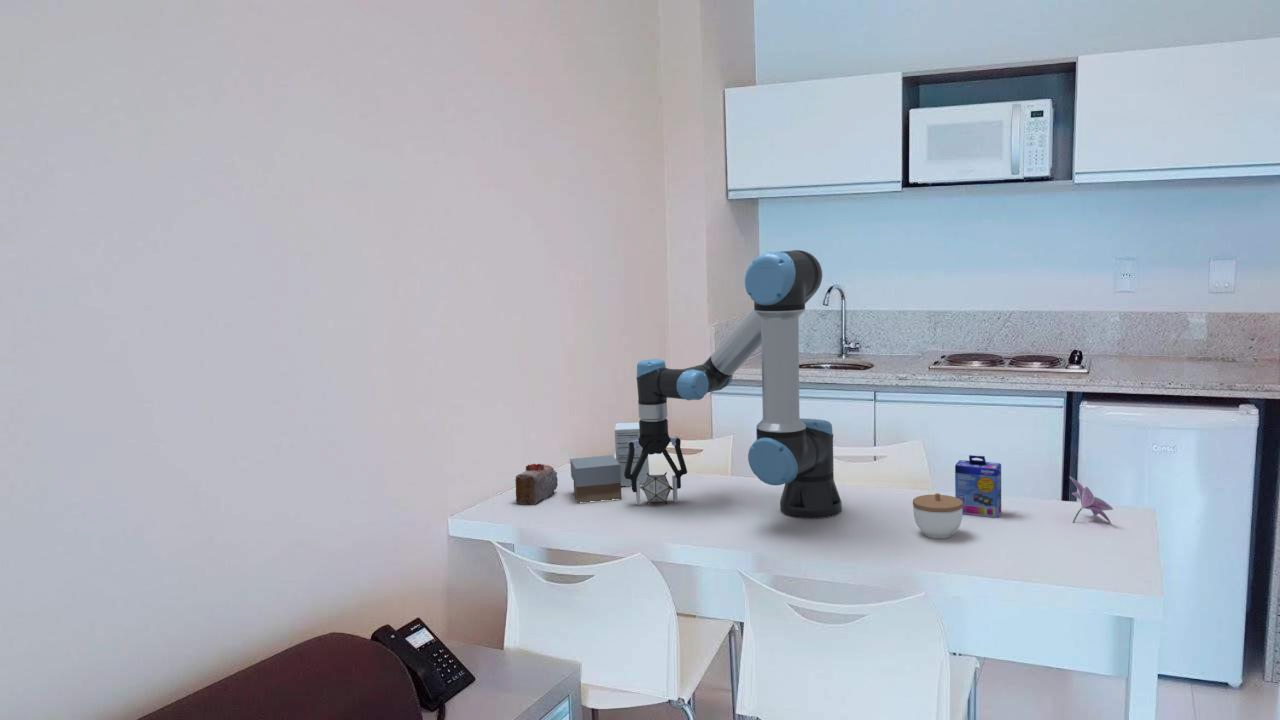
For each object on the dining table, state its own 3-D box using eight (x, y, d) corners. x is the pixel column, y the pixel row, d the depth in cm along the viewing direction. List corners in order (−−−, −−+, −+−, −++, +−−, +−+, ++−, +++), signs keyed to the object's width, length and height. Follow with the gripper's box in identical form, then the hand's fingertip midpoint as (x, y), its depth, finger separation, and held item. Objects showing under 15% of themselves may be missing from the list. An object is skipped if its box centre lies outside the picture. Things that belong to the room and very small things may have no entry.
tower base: (621, 501, 246) (620, 482, 245) (577, 504, 244) (576, 486, 243) (616, 489, 257) (615, 472, 257) (574, 493, 256) (573, 475, 255)
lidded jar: (909, 527, 211) (908, 487, 210) (957, 526, 209) (956, 486, 208) (918, 542, 200) (917, 500, 199) (968, 541, 199) (968, 500, 198)
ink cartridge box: (954, 514, 219) (953, 455, 217) (959, 507, 224) (958, 450, 222) (997, 518, 214) (997, 458, 212) (1001, 512, 219) (1001, 453, 217)
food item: (534, 491, 259) (532, 457, 258) (560, 492, 257) (558, 458, 255) (513, 504, 246) (511, 469, 245) (540, 506, 244) (538, 470, 242)
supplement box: (618, 479, 268) (615, 422, 266) (649, 477, 268) (646, 421, 265) (617, 487, 258) (614, 429, 256) (649, 486, 258) (646, 427, 256)
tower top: (621, 482, 245) (620, 464, 245) (576, 487, 243) (575, 468, 242) (613, 472, 257) (612, 454, 256) (571, 476, 255) (570, 459, 254)
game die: (663, 514, 243) (682, 482, 244) (660, 512, 234) (680, 478, 236) (634, 497, 245) (653, 465, 246) (630, 494, 236) (650, 461, 238)
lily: (1112, 536, 201) (1128, 497, 201) (1058, 513, 204) (1074, 474, 205) (1098, 536, 212) (1114, 498, 213) (1047, 514, 216) (1063, 477, 216)
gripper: (691, 413, 243) (694, 495, 246) (610, 419, 240) (614, 501, 243) (697, 418, 236) (700, 502, 238) (613, 424, 233) (617, 509, 236)
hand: (657, 502), depth 241 cm, fingers closed on game die, 9 cm apart
